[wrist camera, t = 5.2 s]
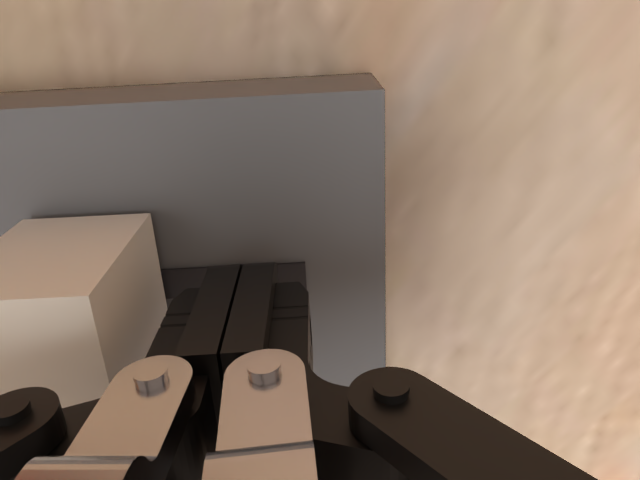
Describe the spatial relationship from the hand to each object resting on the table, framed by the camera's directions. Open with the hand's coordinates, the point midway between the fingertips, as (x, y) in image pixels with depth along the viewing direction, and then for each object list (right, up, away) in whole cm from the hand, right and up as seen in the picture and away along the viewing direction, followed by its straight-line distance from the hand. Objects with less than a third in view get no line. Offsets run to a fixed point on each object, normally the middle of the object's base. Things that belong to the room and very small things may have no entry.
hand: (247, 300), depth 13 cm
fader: (-4, 0, +1) cm, 4 cm away
